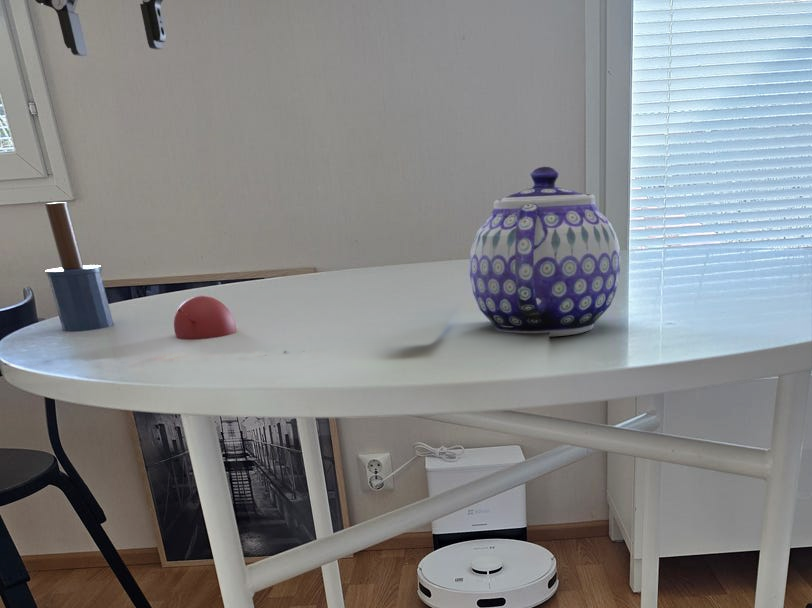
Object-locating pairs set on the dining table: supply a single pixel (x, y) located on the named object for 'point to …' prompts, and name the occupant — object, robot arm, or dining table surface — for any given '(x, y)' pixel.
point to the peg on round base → (66, 243)
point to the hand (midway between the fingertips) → (117, 52)
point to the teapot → (545, 260)
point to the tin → (81, 302)
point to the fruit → (203, 319)
